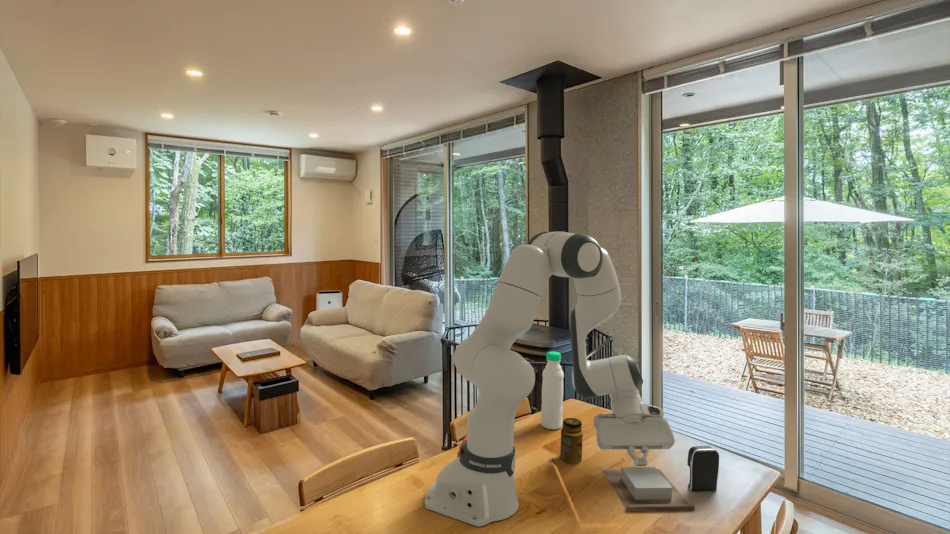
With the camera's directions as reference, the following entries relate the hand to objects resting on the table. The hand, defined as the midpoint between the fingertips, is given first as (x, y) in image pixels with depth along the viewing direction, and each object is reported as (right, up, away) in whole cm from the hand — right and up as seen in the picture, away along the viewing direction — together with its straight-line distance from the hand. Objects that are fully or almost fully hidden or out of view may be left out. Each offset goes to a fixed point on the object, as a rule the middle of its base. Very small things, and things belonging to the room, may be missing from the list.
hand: (641, 465), depth 125 cm
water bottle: (-18, -2, +36) cm, 40 cm away
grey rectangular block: (0, -3, +2) cm, 4 cm away
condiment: (-17, -4, +12) cm, 21 cm away
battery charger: (+15, -6, -1) cm, 16 cm away
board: (0, -6, -2) cm, 6 cm away
